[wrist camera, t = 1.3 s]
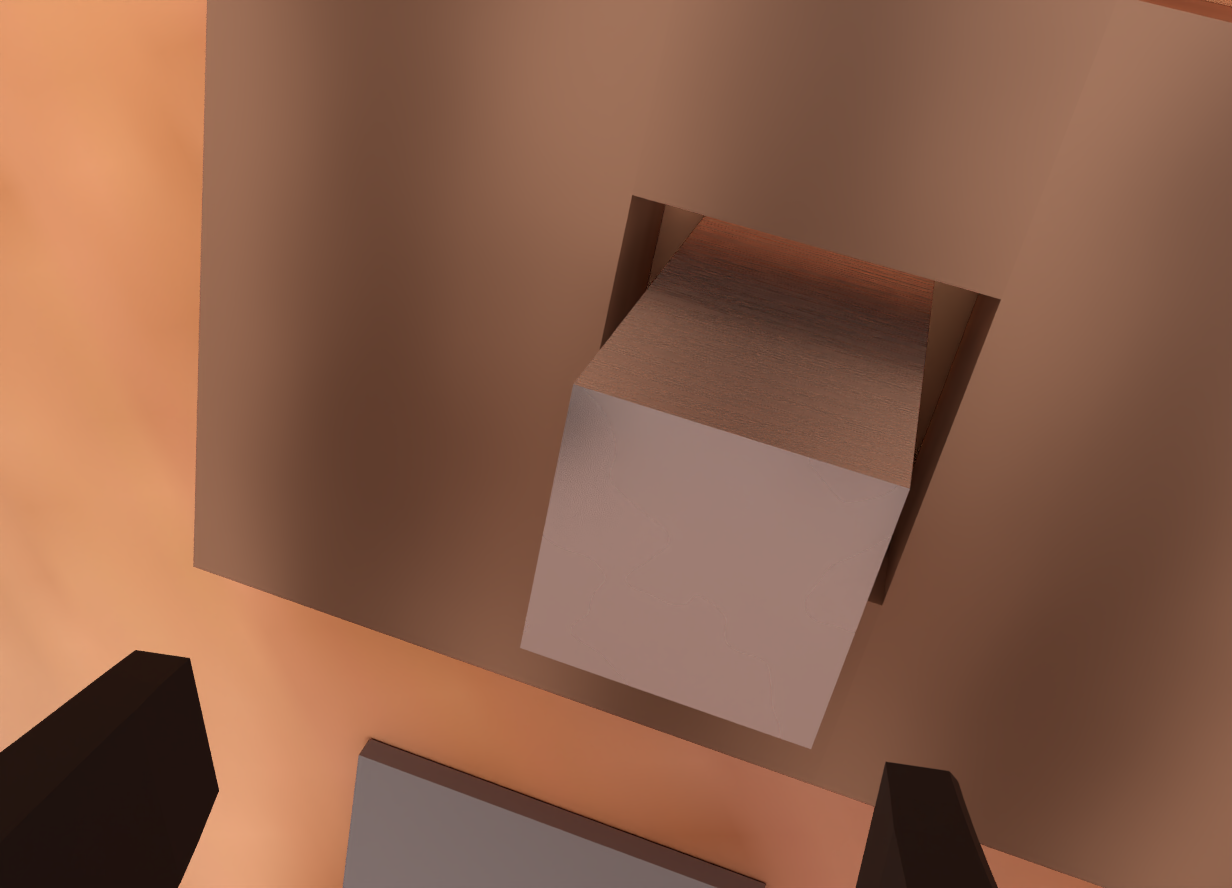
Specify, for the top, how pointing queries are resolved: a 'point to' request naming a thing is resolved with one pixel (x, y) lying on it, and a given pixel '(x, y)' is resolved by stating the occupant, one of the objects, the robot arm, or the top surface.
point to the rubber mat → (493, 837)
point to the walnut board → (796, 210)
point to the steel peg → (734, 478)
